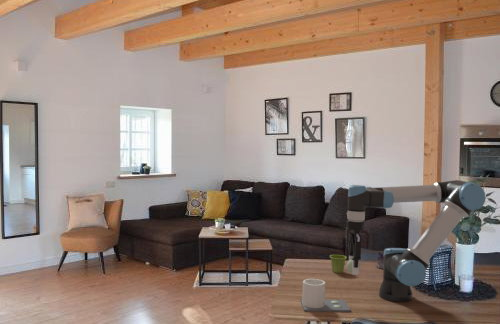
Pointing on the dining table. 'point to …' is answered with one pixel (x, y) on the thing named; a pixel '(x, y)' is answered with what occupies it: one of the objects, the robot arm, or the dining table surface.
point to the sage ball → (350, 266)
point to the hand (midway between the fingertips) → (353, 272)
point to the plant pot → (338, 263)
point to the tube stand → (320, 298)
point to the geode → (380, 261)
